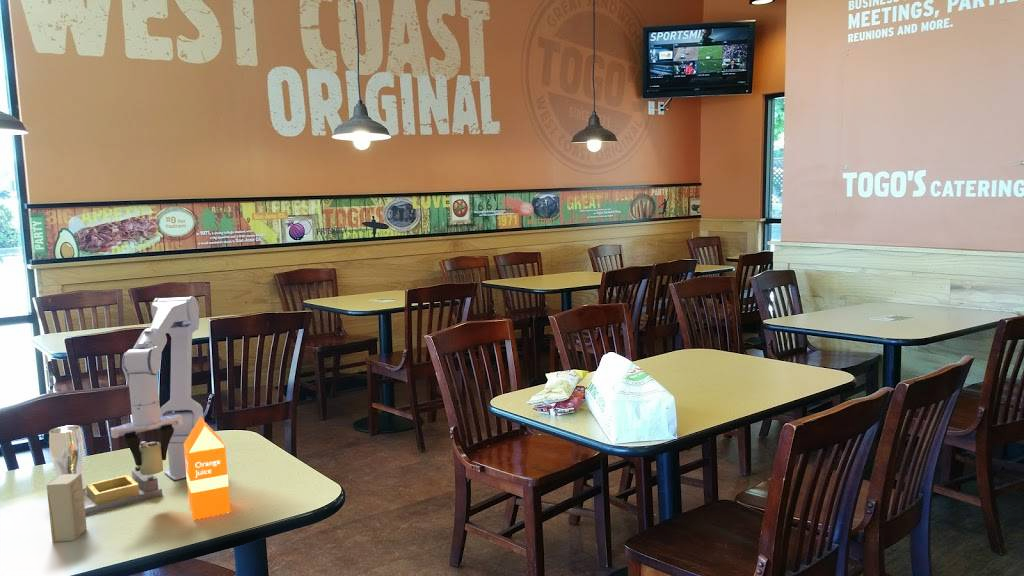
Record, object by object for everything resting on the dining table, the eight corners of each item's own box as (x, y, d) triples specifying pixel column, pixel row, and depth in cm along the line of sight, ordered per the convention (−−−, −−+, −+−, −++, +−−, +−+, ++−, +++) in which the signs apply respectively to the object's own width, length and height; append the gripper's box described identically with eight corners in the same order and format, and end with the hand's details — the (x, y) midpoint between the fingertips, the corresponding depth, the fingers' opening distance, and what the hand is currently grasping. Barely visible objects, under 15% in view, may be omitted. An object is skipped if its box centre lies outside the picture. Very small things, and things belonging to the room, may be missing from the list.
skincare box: (66, 530, 167) (59, 473, 165) (88, 528, 167) (82, 472, 166) (51, 543, 160) (44, 484, 159) (74, 541, 161) (68, 483, 159)
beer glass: (73, 496, 186) (66, 433, 185) (47, 495, 188) (40, 433, 186) (94, 485, 193) (88, 425, 191) (69, 484, 195) (63, 424, 193)
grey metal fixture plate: (147, 482, 194) (145, 464, 193) (162, 495, 185) (160, 476, 184) (64, 502, 182) (62, 483, 182) (75, 517, 173) (73, 497, 173)
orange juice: (192, 520, 169) (184, 428, 167) (188, 507, 177) (180, 418, 175) (231, 512, 173) (224, 422, 170) (225, 499, 180) (218, 413, 178)
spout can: (159, 466, 181) (156, 436, 180) (165, 471, 178) (163, 440, 177) (138, 471, 178) (135, 441, 177) (143, 476, 175) (140, 445, 174)
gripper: (114, 412, 169) (120, 474, 170) (184, 399, 178) (190, 458, 179) (105, 406, 174) (111, 466, 176) (174, 393, 183) (180, 451, 185)
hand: (150, 462), depth 178 cm, fingers closed on spout can, 5 cm apart
